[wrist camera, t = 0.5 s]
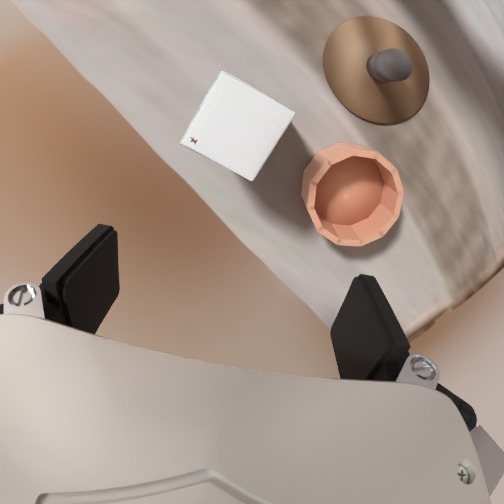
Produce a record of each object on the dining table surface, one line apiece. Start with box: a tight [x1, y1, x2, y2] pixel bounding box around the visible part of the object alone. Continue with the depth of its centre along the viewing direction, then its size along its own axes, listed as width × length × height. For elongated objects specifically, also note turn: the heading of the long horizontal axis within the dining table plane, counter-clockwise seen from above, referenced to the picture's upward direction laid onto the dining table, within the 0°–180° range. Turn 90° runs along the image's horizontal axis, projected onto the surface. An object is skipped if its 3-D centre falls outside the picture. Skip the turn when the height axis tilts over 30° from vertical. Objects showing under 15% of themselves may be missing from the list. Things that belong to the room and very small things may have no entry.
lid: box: [323, 16, 429, 123], centre depth 27 cm, size 15×15×6 cm
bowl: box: [301, 142, 404, 246], centre depth 35 cm, size 12×12×6 cm
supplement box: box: [180, 71, 296, 181], centre depth 28 cm, size 7×7×13 cm
